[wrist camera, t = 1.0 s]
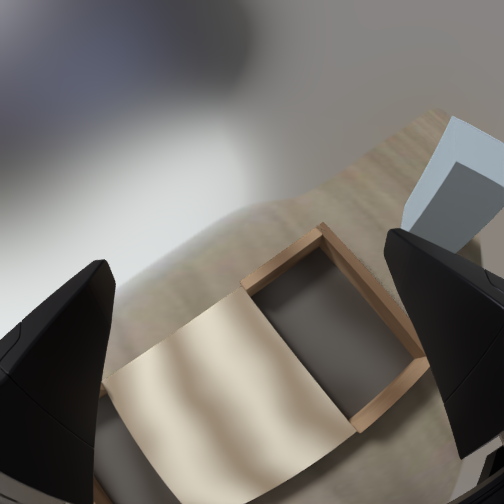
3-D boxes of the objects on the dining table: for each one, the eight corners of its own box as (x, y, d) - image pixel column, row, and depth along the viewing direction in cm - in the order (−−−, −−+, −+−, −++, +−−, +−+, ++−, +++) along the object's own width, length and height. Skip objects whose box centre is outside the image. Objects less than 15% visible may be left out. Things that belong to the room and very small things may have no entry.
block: (446, 222, 25) (505, 144, 14) (441, 265, 23) (515, 194, 12) (404, 205, 26) (452, 115, 15) (396, 247, 25) (456, 161, 14)
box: (318, 239, 26) (323, 221, 23) (421, 360, 20) (438, 356, 17) (59, 416, 20) (40, 416, 17) (138, 536, 15) (124, 548, 12)
